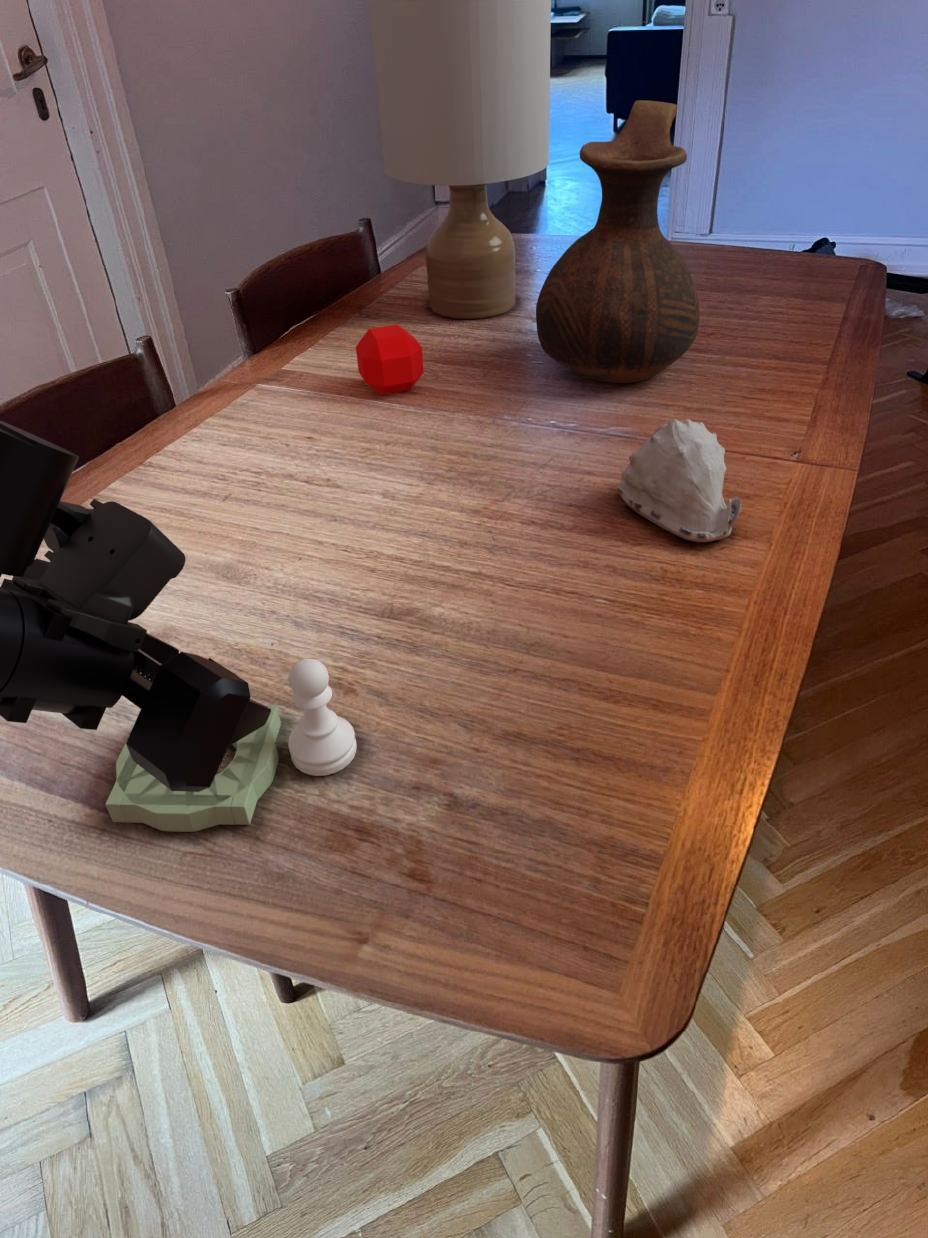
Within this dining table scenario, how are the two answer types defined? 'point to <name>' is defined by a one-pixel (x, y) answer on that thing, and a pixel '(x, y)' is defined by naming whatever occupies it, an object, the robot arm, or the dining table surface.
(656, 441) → the seashell
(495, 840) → the dining table surface
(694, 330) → the jug
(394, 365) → the ball
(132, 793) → the pad
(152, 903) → the dining table surface
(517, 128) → the lamp
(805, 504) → the dining table surface
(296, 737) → the chess pawn
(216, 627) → the dining table surface
